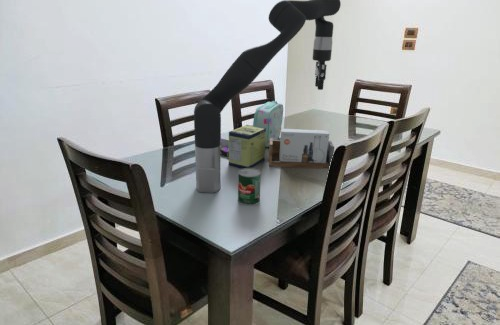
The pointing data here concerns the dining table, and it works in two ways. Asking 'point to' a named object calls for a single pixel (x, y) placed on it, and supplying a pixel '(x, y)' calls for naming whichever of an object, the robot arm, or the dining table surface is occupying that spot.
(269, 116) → the lunch box
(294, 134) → the skincare box
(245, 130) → the protein box
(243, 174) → the canned tomato
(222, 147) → the box
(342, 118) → the dining table surface
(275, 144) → the shelf
